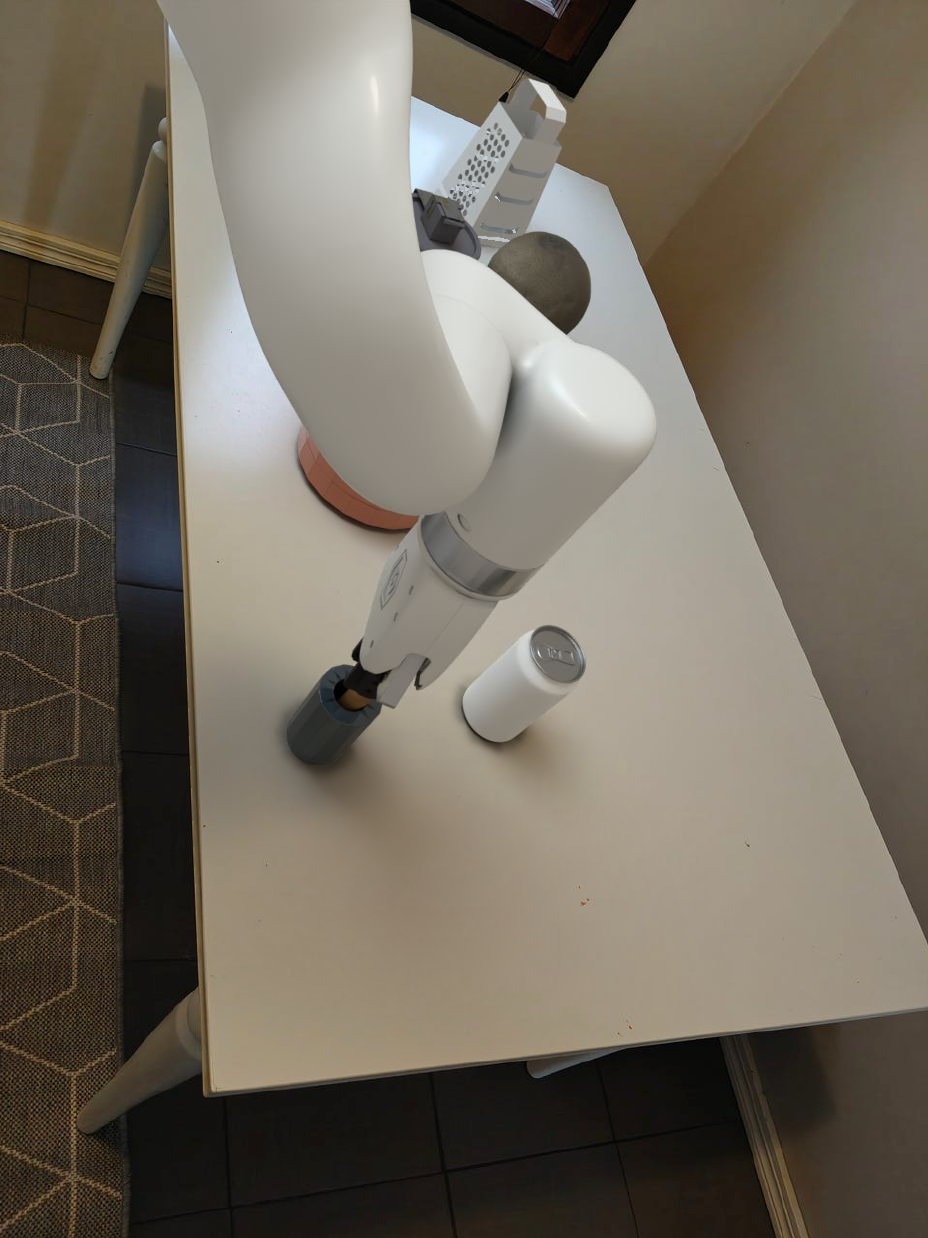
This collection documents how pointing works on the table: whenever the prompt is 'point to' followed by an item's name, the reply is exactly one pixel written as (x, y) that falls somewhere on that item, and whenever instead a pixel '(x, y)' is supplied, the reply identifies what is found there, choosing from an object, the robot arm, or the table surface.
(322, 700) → the utensil pot
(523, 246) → the cantaloupe
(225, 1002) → the table surface
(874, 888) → the table surface
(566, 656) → the can
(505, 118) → the grater
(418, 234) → the canister
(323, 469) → the bowl
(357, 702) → the stick
